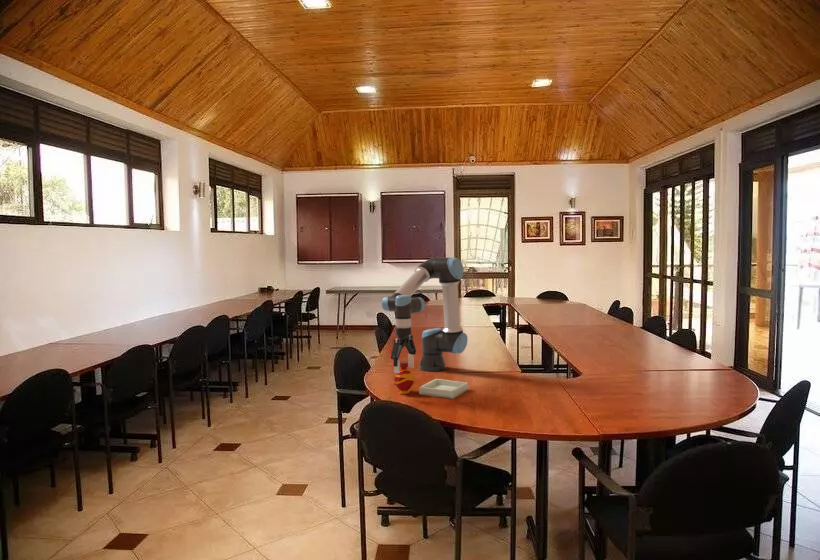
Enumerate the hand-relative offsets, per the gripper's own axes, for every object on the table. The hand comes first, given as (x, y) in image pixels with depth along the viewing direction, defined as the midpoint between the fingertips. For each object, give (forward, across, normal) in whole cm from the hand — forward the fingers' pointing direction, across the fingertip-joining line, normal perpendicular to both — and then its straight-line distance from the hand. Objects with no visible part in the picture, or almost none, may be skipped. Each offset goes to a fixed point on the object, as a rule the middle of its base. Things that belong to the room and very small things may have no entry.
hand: (403, 370), depth 263 cm
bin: (+11, -10, +17) cm, 22 cm away
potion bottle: (+11, 0, 0) cm, 11 cm away
